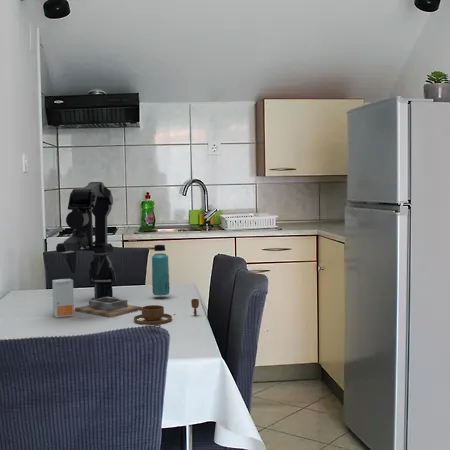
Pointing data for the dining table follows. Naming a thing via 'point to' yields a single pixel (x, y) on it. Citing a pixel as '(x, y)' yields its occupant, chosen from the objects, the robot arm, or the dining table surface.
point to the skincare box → (63, 298)
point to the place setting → (159, 314)
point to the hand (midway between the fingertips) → (85, 273)
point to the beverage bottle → (160, 272)
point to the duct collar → (108, 307)
